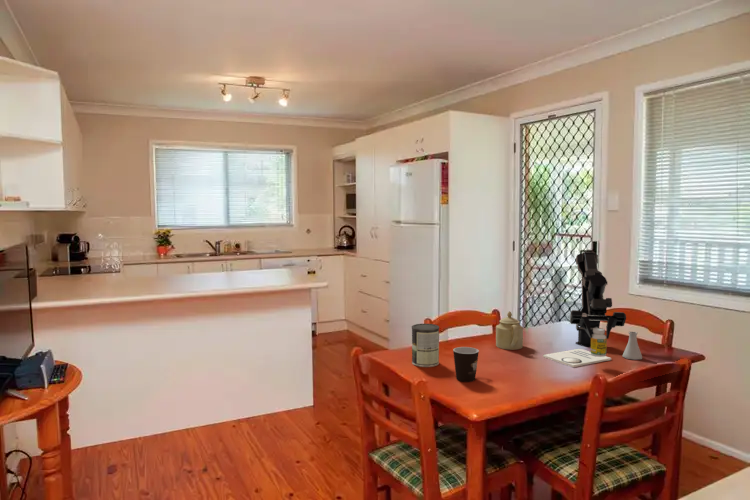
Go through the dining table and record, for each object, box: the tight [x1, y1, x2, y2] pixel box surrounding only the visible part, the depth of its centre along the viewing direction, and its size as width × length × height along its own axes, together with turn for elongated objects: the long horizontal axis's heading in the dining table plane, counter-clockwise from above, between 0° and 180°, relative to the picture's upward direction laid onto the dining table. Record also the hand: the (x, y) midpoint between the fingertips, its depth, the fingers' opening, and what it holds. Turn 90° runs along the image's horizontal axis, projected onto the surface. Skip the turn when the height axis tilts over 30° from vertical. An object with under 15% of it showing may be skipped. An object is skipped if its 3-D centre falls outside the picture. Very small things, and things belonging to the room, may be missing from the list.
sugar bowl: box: [495, 311, 524, 351], centre depth 218 cm, size 15×11×15 cm
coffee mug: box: [452, 346, 480, 383], centre depth 179 cm, size 12×9×10 cm
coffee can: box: [411, 323, 440, 368], centre depth 196 cm, size 10×10×14 cm
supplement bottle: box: [590, 327, 608, 357], centre depth 190 cm, size 5×5×10 cm
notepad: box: [542, 348, 612, 368], centre depth 202 cm, size 15×20×1 cm
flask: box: [622, 331, 643, 361], centre depth 202 cm, size 7×7×10 cm
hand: (599, 338), depth 188 cm, fingers closed on supplement bottle, 5 cm apart
